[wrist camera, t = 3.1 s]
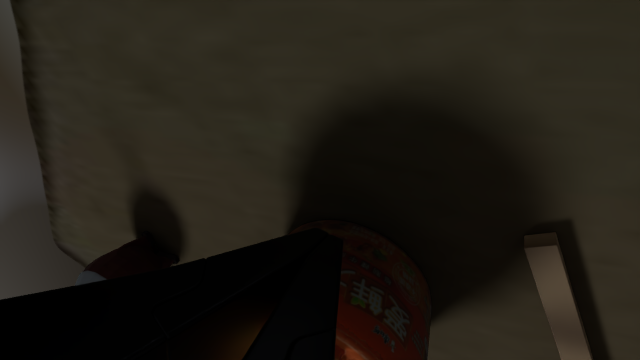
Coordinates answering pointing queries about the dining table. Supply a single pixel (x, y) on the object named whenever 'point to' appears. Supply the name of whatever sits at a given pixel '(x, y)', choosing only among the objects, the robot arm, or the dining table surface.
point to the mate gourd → (128, 261)
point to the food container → (378, 297)
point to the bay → (557, 295)
